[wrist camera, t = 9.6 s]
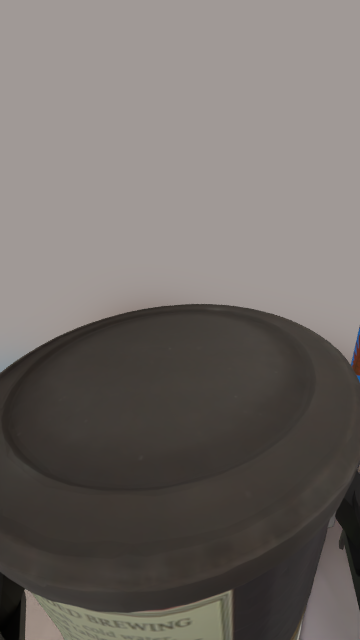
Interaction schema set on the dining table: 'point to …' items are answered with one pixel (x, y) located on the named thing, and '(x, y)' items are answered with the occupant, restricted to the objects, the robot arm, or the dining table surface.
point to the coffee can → (175, 472)
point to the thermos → (357, 357)
